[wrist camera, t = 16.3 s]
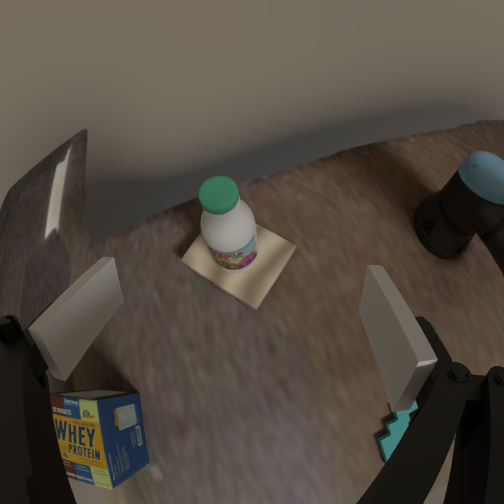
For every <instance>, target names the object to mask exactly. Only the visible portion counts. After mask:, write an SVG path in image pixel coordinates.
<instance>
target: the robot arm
mask: <svg viewBox="0 0 504 504" xmlns="http://www.w3.org/2000/svg"><path fill="white" fill-rule="evenodd" d="M414 223H415V228H416V232H417V234H418V236H419V238H420V240H421V242H422V243H423V245H424V246H425V247H426V248H427V249H428V250H429V251H430V252H431V253H432V254H434V255H435V256H437V257H439V258H442V259H454V258H456V257H458V256H459V255H461V254H462V253H463V252H464V251H465V250H466V249H467V247H468V246H469V244H470V242H471V240H472V238H473V236H474V234H475V233H477V234H478V236H479V237H480V238H481V240H482V241H483V243H484V244H485V246H486V247H487V249H488V250H489V252H490V254H491V255H492V257H493V258H494V260H495V262H496V263H497V265H498V267H499V268H500V270H501V272H502V274H503V276H504V161H503V160H502V159H500V158H499V157H498V156H496V155H494V154H492V153H489V152H486V151H475V152H473V153H471V154H470V155H469V156H468V158H467V159H466V160H465V161H463V162H462V163H461V164H460V166H459V169H458V170H457V171H456V172H455V174H454V175H453V176H452V178H451V179H450V180H449V181H448V182H447V184H446V185H445V186H444V187H443V188H442V190H440V191H438V192H436V193H433V194H431V195H429V196H427V197H425V198H424V199H423V200H422V201H421V203H420V204H419V205H418V207H417V208H416V211H415V216H414ZM123 301H124V299H123V295H122V291H121V287H120V283H119V279H118V275H117V270H116V266H115V261H114V257H102V258H101V259H100V260H98V261H97V262H96V263H95V264H94V265H93V266H92V267H91V268H90V269H88V270H87V271H86V272H85V273H84V274H83V275H82V276H81V277H80V278H79V279H78V280H76V281H75V282H74V283H73V284H72V285H71V286H70V287H69V288H68V289H67V290H66V291H65V292H64V293H63V294H62V295H61V296H60V297H59V298H58V299H57V300H55V301H54V302H52V303H50V304H49V305H48V306H47V307H46V308H45V309H44V311H42V312H41V313H40V314H39V316H37V317H36V318H35V319H34V320H33V322H32V323H31V324H30V325H29V326H28V327H27V328H26V329H25V330H24V331H23V330H22V328H21V326H20V324H19V322H18V320H17V317H16V316H15V315H11V314H10V315H6V316H3V317H1V318H0V504H77V503H76V501H75V498H74V495H73V492H72V490H71V486H70V483H69V480H68V477H67V473H66V470H65V467H64V463H63V459H62V455H61V451H60V447H59V443H58V439H57V434H56V429H55V424H54V419H53V413H52V407H51V400H50V392H49V384H48V377H47V375H46V373H45V371H46V370H47V369H48V368H49V370H50V372H51V373H52V375H53V377H55V378H57V379H60V380H63V381H66V380H67V379H68V377H69V376H70V374H71V373H72V371H73V370H74V368H75V367H76V365H77V364H78V362H79V361H80V360H81V358H82V357H83V355H84V354H85V352H86V351H87V350H88V348H89V347H90V345H91V344H92V343H93V341H94V340H95V338H96V337H97V336H98V334H99V333H100V331H101V330H102V329H103V327H104V326H105V325H106V323H107V322H108V321H109V319H110V318H111V317H112V315H113V314H114V313H115V311H116V310H117V309H118V307H119V306H120V305H121V303H122V302H123ZM358 312H359V314H360V317H361V320H362V322H363V325H364V328H365V331H366V333H367V336H368V339H369V342H370V345H371V348H372V350H373V353H374V356H375V359H376V362H377V365H378V368H379V372H380V375H381V378H382V381H383V384H384V387H385V391H386V394H387V397H388V401H389V404H390V407H391V411H392V412H398V411H404V410H409V409H410V408H411V406H412V405H413V403H414V401H416V403H417V406H418V409H417V410H416V412H415V413H414V415H413V416H412V418H411V419H410V421H409V422H408V424H409V425H408V427H407V429H406V431H405V432H404V434H403V436H402V438H401V439H400V441H399V443H398V444H397V446H396V448H395V449H394V451H393V453H392V454H391V456H390V457H389V459H388V460H387V462H386V463H385V465H384V467H383V468H382V469H381V471H380V472H379V474H378V475H377V477H376V478H375V480H374V481H373V482H372V484H371V485H370V486H369V488H368V489H367V491H366V492H365V493H364V494H363V496H362V497H361V498H360V500H359V501H358V502H357V503H356V504H423V503H424V501H425V499H426V497H427V495H428V494H429V492H430V490H431V488H432V486H433V484H434V482H435V480H436V478H437V476H438V474H439V472H440V470H441V467H442V465H443V463H444V461H445V458H446V456H447V454H448V451H449V449H450V446H451V444H452V441H453V439H454V436H455V433H456V436H455V445H454V452H453V459H452V465H451V471H450V476H449V481H448V486H447V490H446V495H445V499H444V503H443V504H504V368H503V367H500V366H494V367H492V368H491V369H490V370H489V371H488V373H487V375H486V376H482V375H472V374H471V373H470V371H469V369H468V368H467V367H466V366H464V365H463V364H461V363H458V362H453V361H452V359H451V357H450V355H449V354H448V352H447V350H446V348H445V347H444V345H443V343H442V342H441V340H439V336H438V335H437V333H435V330H434V328H433V327H432V325H431V323H429V322H428V321H427V320H426V319H425V318H423V317H414V316H413V314H412V312H411V311H410V309H409V307H408V306H407V304H406V302H405V301H404V299H403V297H402V296H401V294H400V293H399V291H398V289H397V288H396V286H395V285H394V283H393V282H392V280H391V279H390V277H389V275H388V274H387V272H386V271H385V269H384V268H383V266H377V265H368V268H367V273H366V278H365V283H364V288H363V293H362V298H361V303H360V307H359V311H358Z"/></svg>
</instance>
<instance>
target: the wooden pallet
mask: <svg viewBox="0 0 504 504" xmlns="http://www.w3.org/2000/svg"><path fill="white" fill-rule="evenodd" d="M255 224H256V223H255ZM256 231H257V239H258V248H259V254H258V259H257V261H256V263H255V264H254V266H253V267H252V268H250V269H249V270H248V271H246V272H243V273H239V274H232V273H228V272H226V271H224V270H222V269H221V268H220V267H219V266H218V264H217V263H216V261H215V259H214V258H213V256H212V254H211V252H210V250H209V248H208V246H207V244H206V242H205V240H204V238H203V235H202V232H201V233H200V234H199V236H198V237H197V238H196V240H195V241H194V242H193V244H192V245H191V246H190V248H189V249H188V251H187V252H186V253H185V255H184V256H183V257H182V259H181V262H182V263H184V264H185V265H186V266H188V267H189V269H190V270H191V271H193V272H194V273H195V274H197V275H198V276H200V277H202V276H203V277H205V278H206V279H208V280H209V281H211V282H212V284H213V285H214V286H216V287H217V288H218V289H220V290H221V291H223V292H225V293H227V292H228V293H229V294H231V295H232V296H234V297H236V298H237V299H238V301H239V302H240V303H242V304H243V305H245V306H246V307H248V308H250V309H255V310H256V311H257V309H258V308H259V306H260V305H261V303H262V302H263V300H264V299H265V297H266V295H267V294H268V292H269V291H270V289H271V288H272V286H273V285H274V283H275V281H276V280H277V278H278V277H279V275H280V274H281V272H282V270H283V269H284V267H285V266H286V264H287V263H288V261H289V259H290V258H291V256H292V255H293V253H294V251H295V250H296V245H294V244H292V243H290V242H288V241H287V240H285V239H283V238H281V237H280V236H278V235H276V234H274V233H272V232H271V231H269V230H267V229H265V228H263V227H262V226H260V225H258V224H256Z"/></svg>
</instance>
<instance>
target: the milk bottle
mask: <svg viewBox="0 0 504 504" xmlns="http://www.w3.org/2000/svg"><path fill="white" fill-rule="evenodd" d="M198 198H199V201H200V204H201V206H202V208H203V213H202V216H201V222H200V224H201V232H202V235H203V238H204V240H205V242H206V244H207V246H208V248H209V250H210V252H211V254H212V256H213V258H214V259H215V261H216V263H217V264H218V266H219V267H220V268H221V269H222V270H224V271H226V272H228V273H232V274H239V273H243V272H246V271H248V270H249V269H250V268H252V267H253V266H254V264H255V263H256V261H257V259H258V254H259V248H258V239H257V231H256V224H255V219H254V216H253V214H252V211H251V210H250V208H249V207H248V206H247V204H246V203H245V202H243V201H242V200H240V196H239V191H238V187H237V185H236V183H235V182H234V181H233V180H232V179H230V178H229V177H226V176H215V177H211V178H209V179H208V180H206V181H205V182H204V183H203V184H202V185H201V187H200V189H199V193H198Z"/></svg>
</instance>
